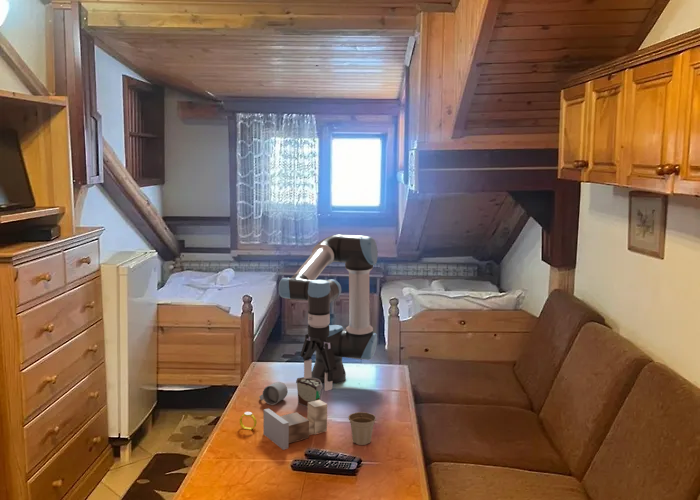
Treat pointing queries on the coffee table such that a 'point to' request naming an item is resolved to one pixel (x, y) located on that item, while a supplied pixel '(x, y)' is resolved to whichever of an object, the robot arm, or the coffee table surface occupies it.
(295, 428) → the block
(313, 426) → the cream l-shaped piece
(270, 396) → the ceramic mug
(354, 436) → the flower pot
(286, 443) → the wall
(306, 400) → the half-round slice
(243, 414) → the watch
